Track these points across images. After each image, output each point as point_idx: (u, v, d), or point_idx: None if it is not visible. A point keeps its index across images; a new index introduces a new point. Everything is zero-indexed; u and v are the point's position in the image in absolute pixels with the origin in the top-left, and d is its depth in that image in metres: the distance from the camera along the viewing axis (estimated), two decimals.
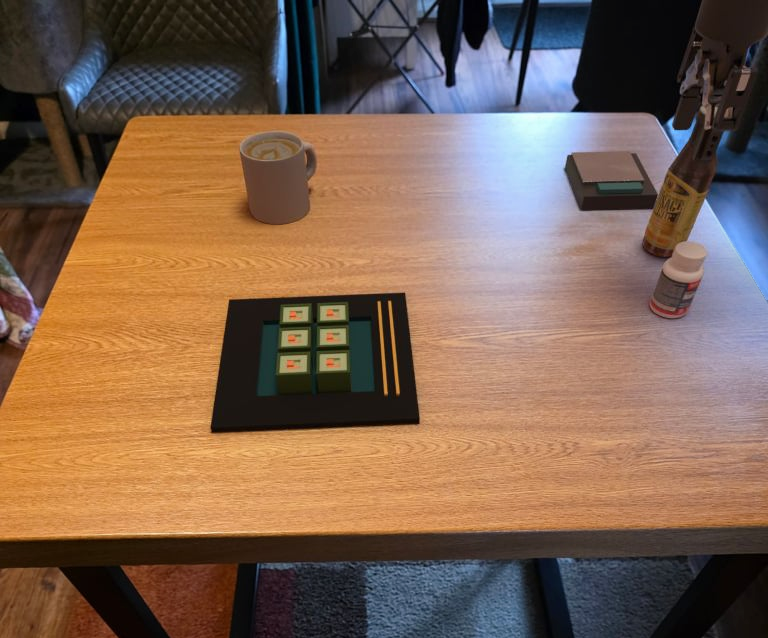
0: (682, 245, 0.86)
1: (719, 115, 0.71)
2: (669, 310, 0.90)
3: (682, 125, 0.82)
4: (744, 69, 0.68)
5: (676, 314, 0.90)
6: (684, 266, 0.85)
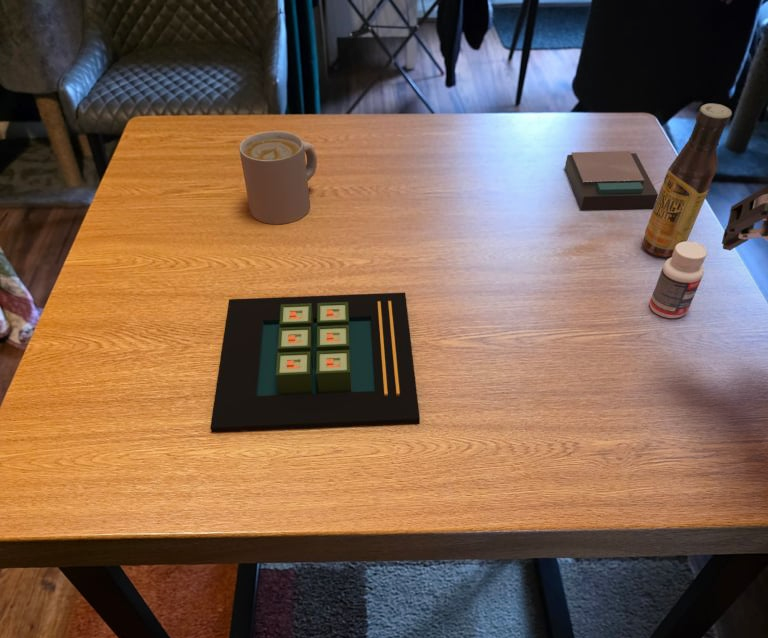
0: (682, 245, 0.86)
1: None
2: (669, 310, 0.90)
3: None
4: None
5: (676, 314, 0.90)
6: (684, 266, 0.85)
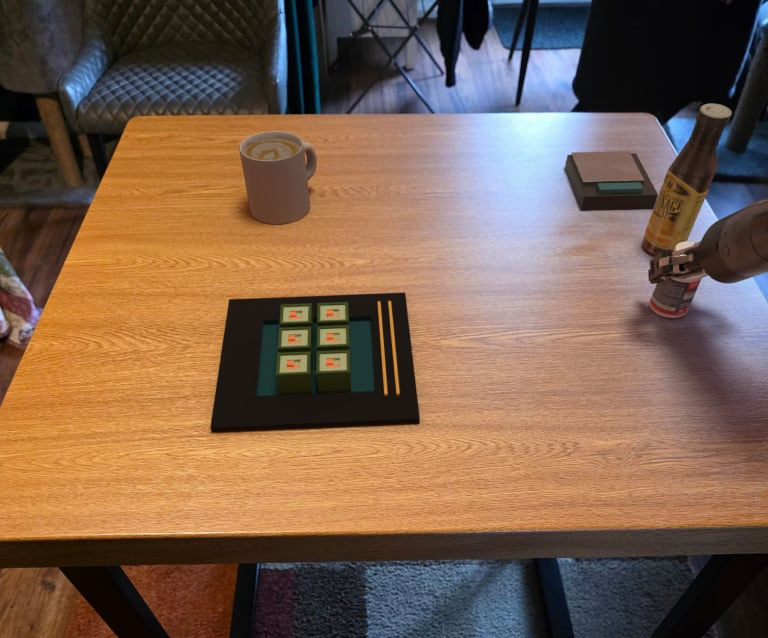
0: (682, 245, 0.86)
1: None
2: (669, 310, 0.90)
3: None
4: None
5: (676, 314, 0.90)
6: None
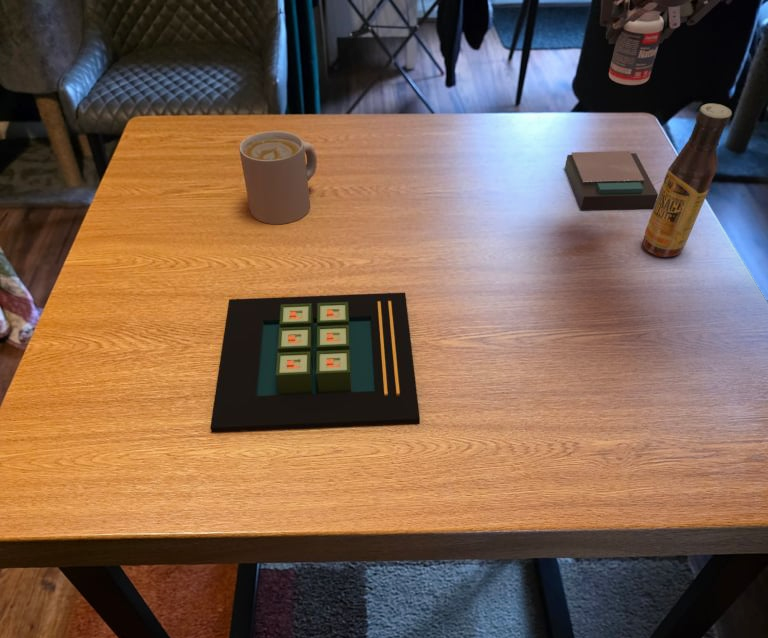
0: None
1: (700, 17, 0.79)
2: (624, 73, 0.84)
3: None
4: None
5: (632, 79, 0.85)
6: None
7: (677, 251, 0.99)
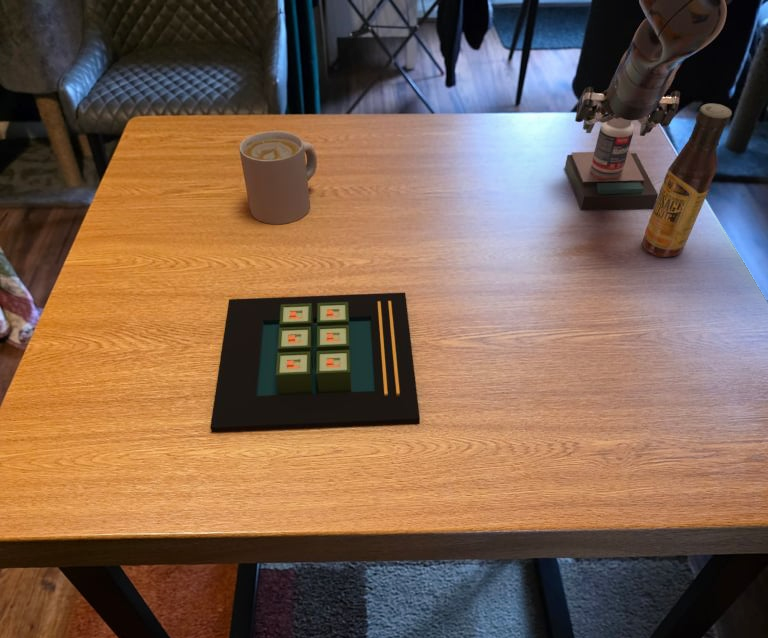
0: None
1: (669, 121, 1.00)
2: (602, 164, 1.08)
3: None
4: (676, 101, 0.96)
5: (608, 168, 1.08)
6: (613, 122, 1.03)
7: (677, 251, 0.99)
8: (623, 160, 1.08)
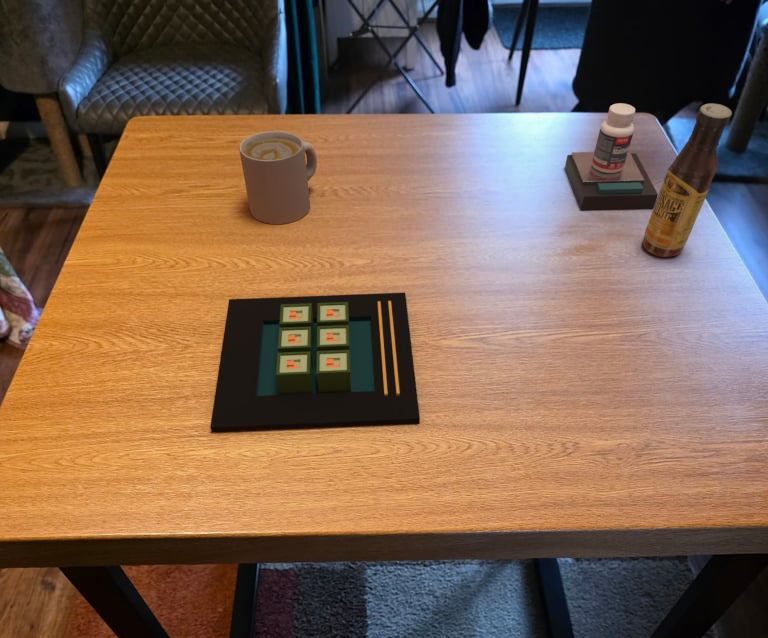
0: (617, 105, 1.04)
1: None
2: (602, 164, 1.08)
3: None
4: None
5: (608, 168, 1.08)
6: (613, 122, 1.03)
7: (677, 251, 0.99)
8: (623, 160, 1.08)
